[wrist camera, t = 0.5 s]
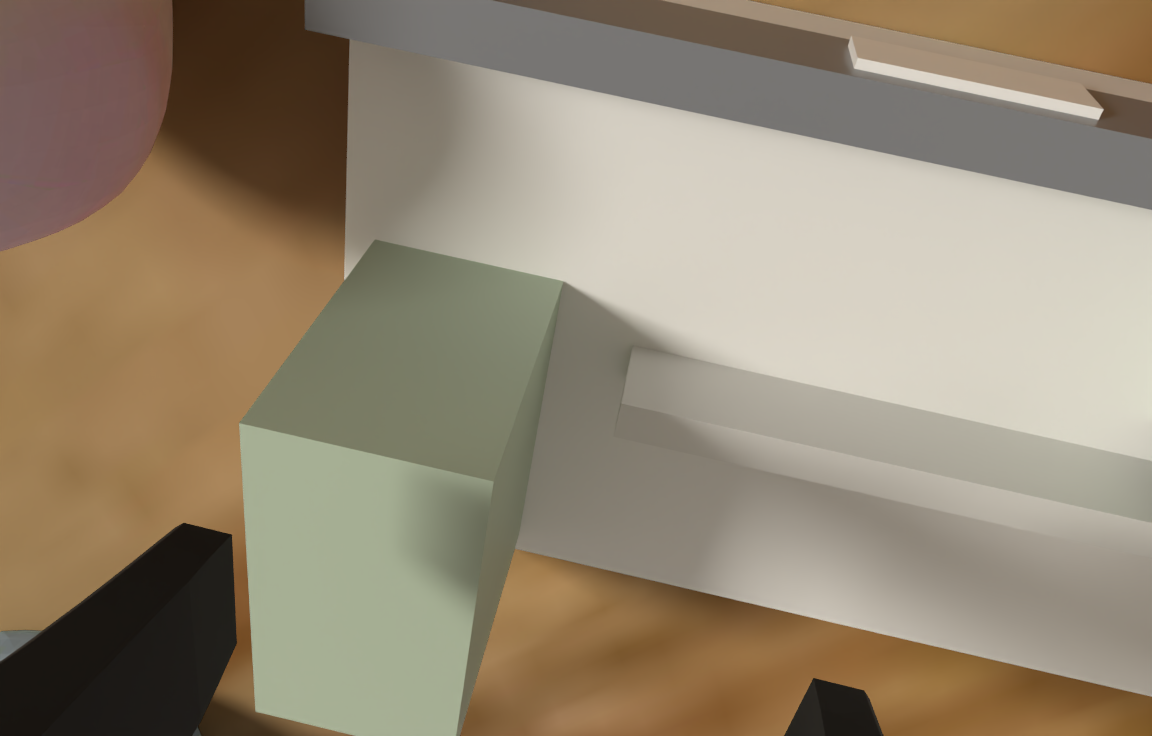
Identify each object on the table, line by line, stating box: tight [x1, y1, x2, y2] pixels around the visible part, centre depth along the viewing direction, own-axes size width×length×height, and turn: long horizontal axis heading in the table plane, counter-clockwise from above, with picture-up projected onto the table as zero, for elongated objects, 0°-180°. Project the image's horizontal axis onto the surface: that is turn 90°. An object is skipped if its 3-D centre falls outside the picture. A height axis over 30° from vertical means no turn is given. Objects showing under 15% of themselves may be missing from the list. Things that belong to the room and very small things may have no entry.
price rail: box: [305, 0, 1152, 210], centre depth 15 cm, size 1×24×2 cm, turn 81°
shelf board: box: [344, 0, 1152, 697], centre depth 19 cm, size 13×24×3 cm, turn 81°
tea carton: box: [239, 240, 563, 736], centre depth 18 cm, size 7×4×6 cm, turn 171°
